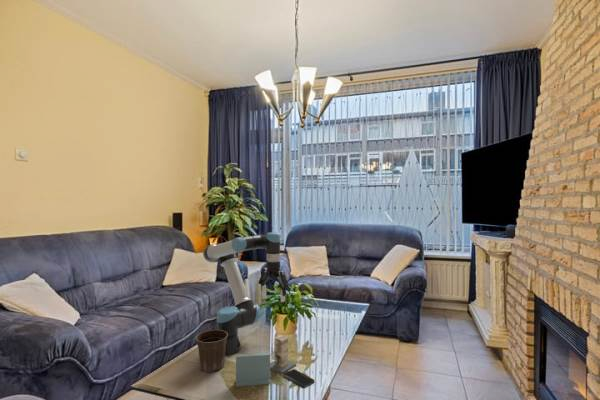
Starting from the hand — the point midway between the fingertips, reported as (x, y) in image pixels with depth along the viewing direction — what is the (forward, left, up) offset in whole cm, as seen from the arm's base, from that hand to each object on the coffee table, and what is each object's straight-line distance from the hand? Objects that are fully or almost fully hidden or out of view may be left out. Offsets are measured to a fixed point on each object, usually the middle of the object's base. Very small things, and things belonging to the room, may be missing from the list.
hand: (273, 299), depth 189 cm
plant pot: (-8, -32, -32) cm, 46 cm away
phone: (+27, -1, -32) cm, 42 cm away
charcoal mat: (+12, -2, -32) cm, 34 cm away
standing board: (+18, -21, -32) cm, 42 cm away
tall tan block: (+12, -2, -31) cm, 33 cm away
